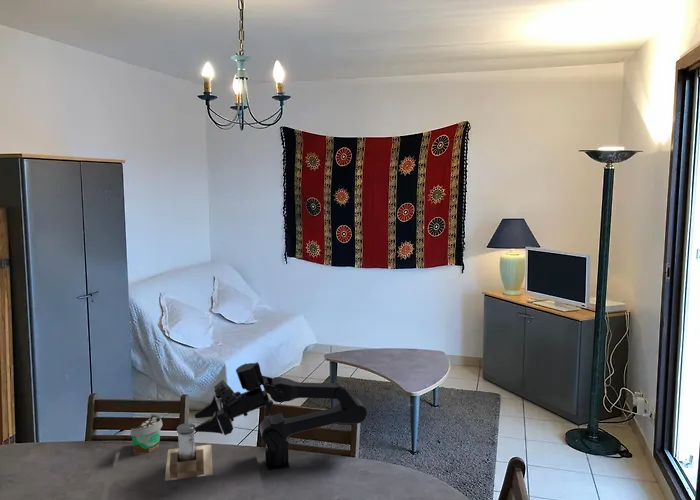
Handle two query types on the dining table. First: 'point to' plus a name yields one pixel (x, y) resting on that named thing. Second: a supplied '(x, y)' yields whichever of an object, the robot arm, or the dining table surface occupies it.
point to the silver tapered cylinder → (186, 442)
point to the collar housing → (189, 464)
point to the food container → (147, 435)
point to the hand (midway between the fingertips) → (194, 422)
